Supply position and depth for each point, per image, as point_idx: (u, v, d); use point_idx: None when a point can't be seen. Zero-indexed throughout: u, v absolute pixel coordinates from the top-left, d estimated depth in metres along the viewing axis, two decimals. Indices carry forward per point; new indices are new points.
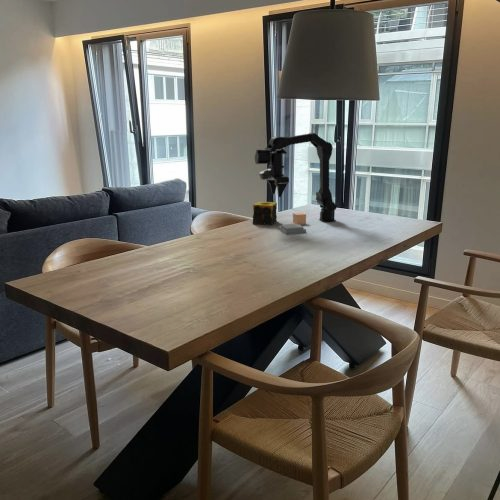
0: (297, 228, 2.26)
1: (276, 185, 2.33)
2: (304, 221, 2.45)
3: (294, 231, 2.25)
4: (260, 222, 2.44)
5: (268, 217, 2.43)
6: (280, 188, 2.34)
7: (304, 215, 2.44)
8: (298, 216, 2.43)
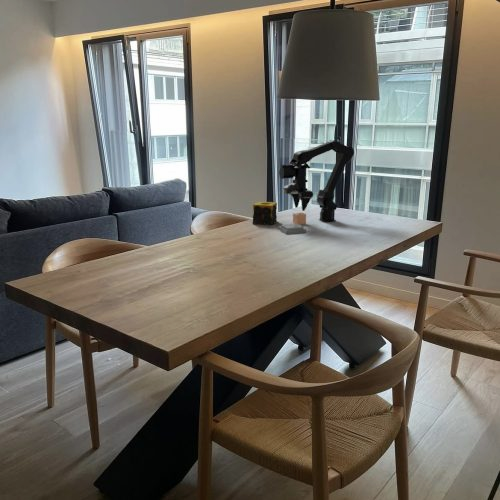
0: (297, 228, 2.26)
1: (300, 199, 2.38)
2: (304, 221, 2.45)
3: (294, 231, 2.25)
4: (260, 222, 2.44)
5: (268, 217, 2.43)
6: (304, 202, 2.38)
7: (304, 215, 2.44)
8: (298, 216, 2.43)
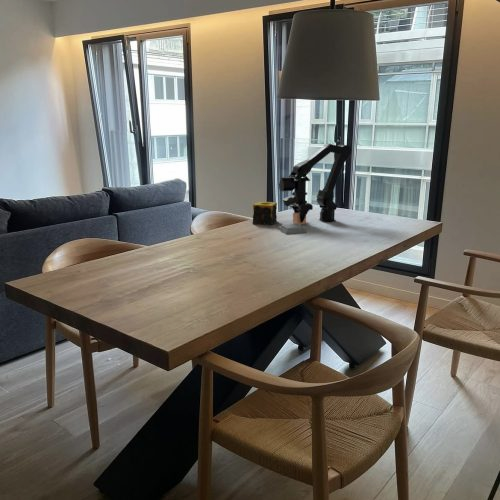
0: (297, 228, 2.26)
1: (298, 211, 2.41)
2: (304, 221, 2.45)
3: (294, 231, 2.25)
4: (260, 222, 2.44)
5: (268, 217, 2.43)
6: (302, 214, 2.42)
7: None
8: (298, 216, 2.43)
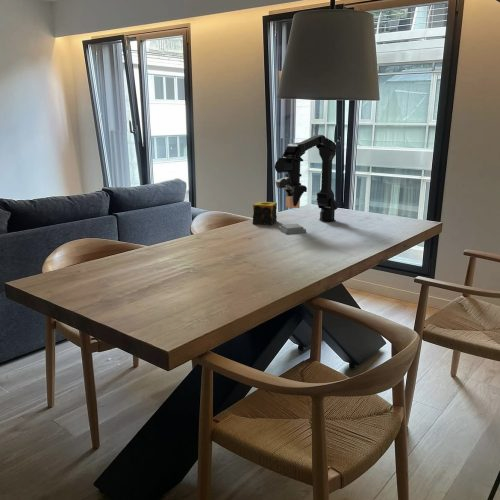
0: (297, 228, 2.26)
1: (291, 194, 2.25)
2: (298, 205, 2.28)
3: (294, 231, 2.25)
4: (260, 222, 2.44)
5: (268, 217, 2.43)
6: (296, 197, 2.25)
7: None
8: (291, 199, 2.27)
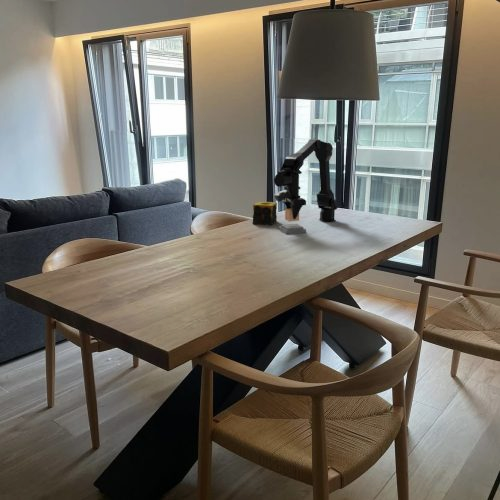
0: (297, 228, 2.26)
1: (291, 207, 2.23)
2: (297, 217, 2.27)
3: (294, 231, 2.25)
4: (260, 222, 2.44)
5: (268, 217, 2.43)
6: (295, 210, 2.24)
7: None
8: (290, 212, 2.25)
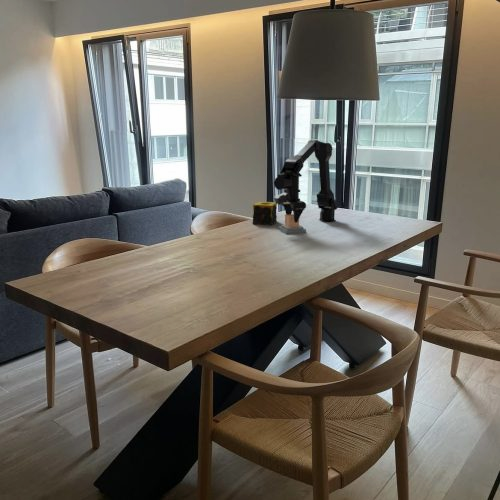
0: (297, 228, 2.26)
1: (292, 210, 2.22)
2: (297, 223, 2.27)
3: (294, 231, 2.25)
4: (260, 222, 2.44)
5: (268, 217, 2.43)
6: (296, 213, 2.22)
7: None
8: (290, 218, 2.26)
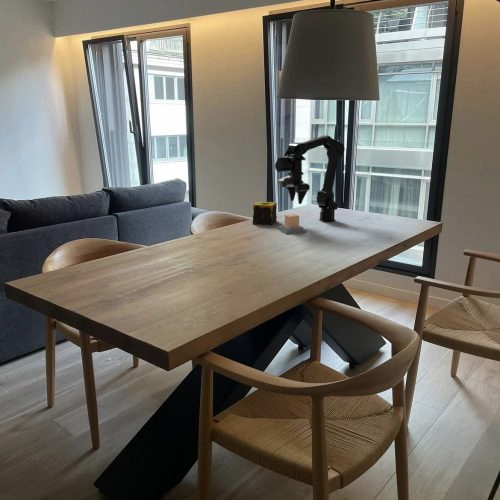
0: (297, 228, 2.26)
1: (296, 192, 2.31)
2: (297, 223, 2.27)
3: (294, 231, 2.25)
4: (260, 222, 2.44)
5: (268, 217, 2.43)
6: (300, 195, 2.32)
7: (297, 217, 2.26)
8: (290, 218, 2.26)
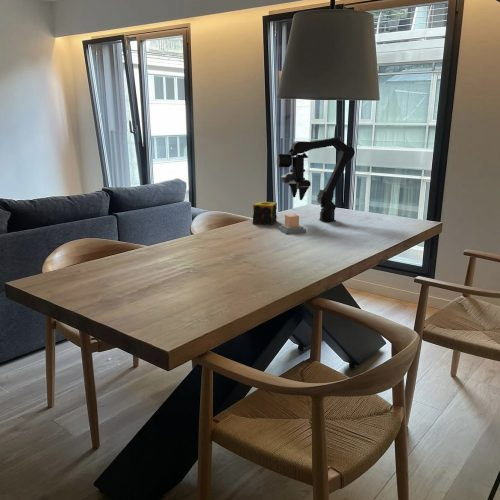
0: (297, 228, 2.26)
1: (298, 188, 2.39)
2: (297, 223, 2.27)
3: (294, 231, 2.25)
4: (260, 222, 2.44)
5: (268, 217, 2.43)
6: (302, 191, 2.40)
7: (297, 217, 2.26)
8: (290, 218, 2.26)
